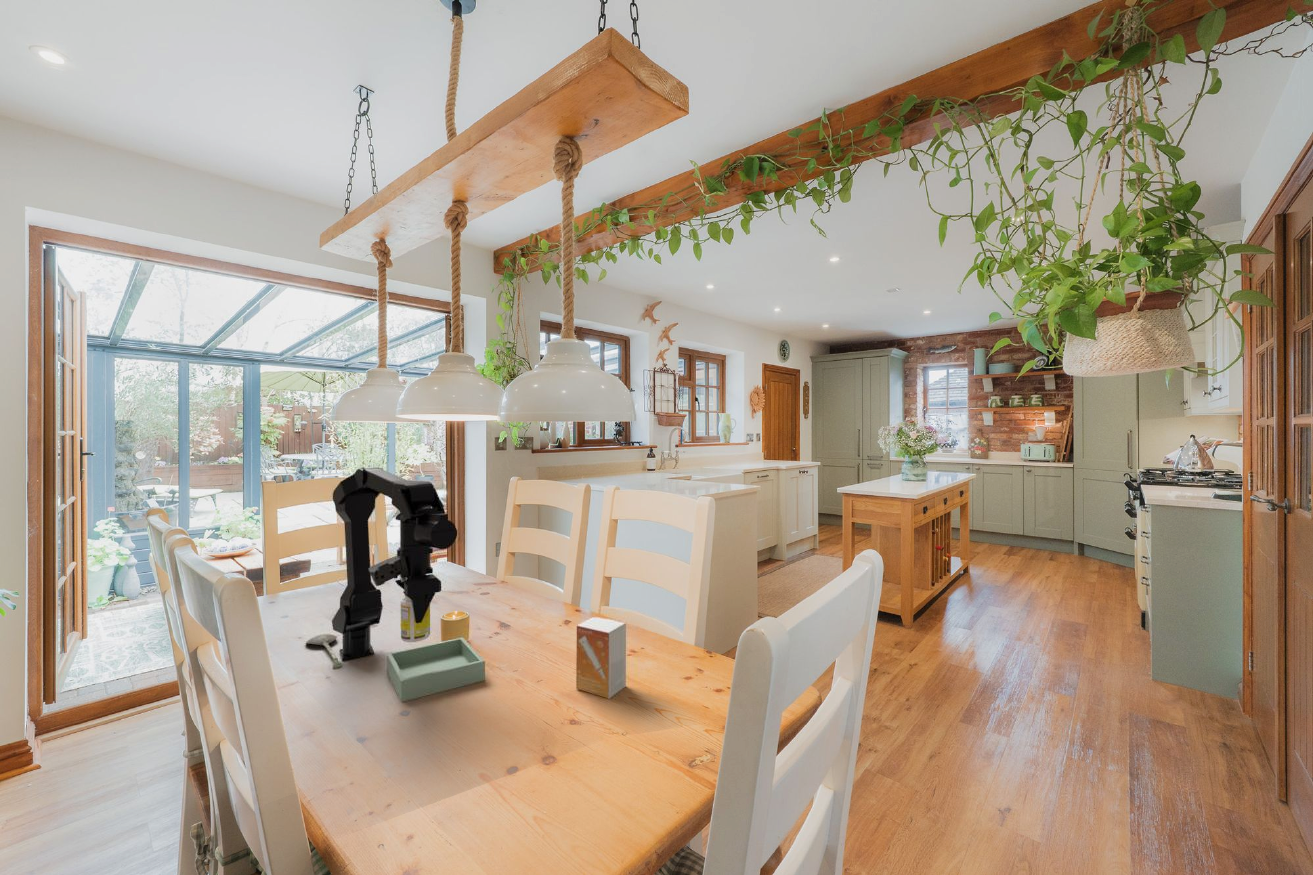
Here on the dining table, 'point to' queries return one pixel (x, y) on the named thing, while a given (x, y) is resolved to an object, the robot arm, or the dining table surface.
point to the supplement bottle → (413, 623)
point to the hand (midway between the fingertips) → (415, 618)
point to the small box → (601, 656)
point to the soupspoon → (326, 645)
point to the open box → (434, 668)
